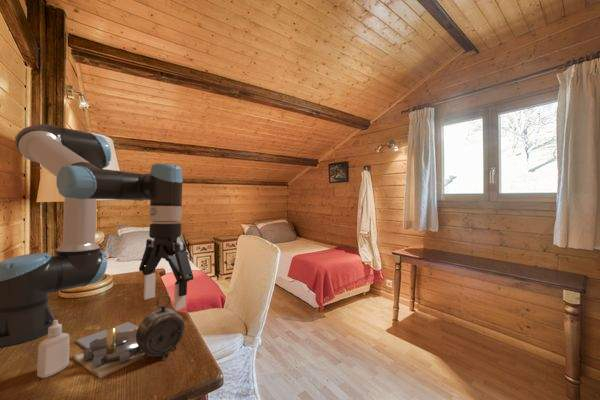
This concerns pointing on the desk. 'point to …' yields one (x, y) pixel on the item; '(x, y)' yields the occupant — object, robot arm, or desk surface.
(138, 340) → the alarm clock
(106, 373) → the plate
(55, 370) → the eye dropper bottle
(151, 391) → the desk surface
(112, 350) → the sprocket
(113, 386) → the desk surface
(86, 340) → the pad
